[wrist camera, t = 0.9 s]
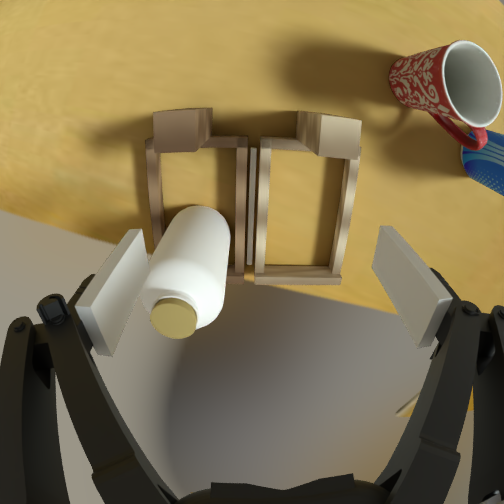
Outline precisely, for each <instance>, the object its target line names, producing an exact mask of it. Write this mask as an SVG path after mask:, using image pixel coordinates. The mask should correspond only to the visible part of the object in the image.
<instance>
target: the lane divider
mask: <svg viewBox="0 0 504 504" xmlns="http://www.w3.org/2000/svg"><path fill="white" fill-rule="evenodd" d="M256 152H257V148H251V153H250V182H249V212H248V243H247V265H252V251H253V227H254V202H255V177H256Z"/></svg>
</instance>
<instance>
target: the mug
mask: <svg viewBox="0 0 504 504" xmlns="http://www.w3.org/2000/svg"><path fill="white" fill-rule="evenodd" d="M389 82H390V86H391V89H392V92H393V93H394V95H395V96H396V98H397V99H398V100H399V101H400V102H401V103H402V104H404V105H405V106H407V107H410V108H413V109H418V110H423V111H427V112H428V113H429V114H430V115H431V116H432V117H433V118H434V119H435V120H436V121H437V122H438V123H439V124H440V125H441V126H442V127H443V128H444V129H445V130H446V131H447V132H448V133H449V134H450V135H451V136H452V137H453V138H454V139H455V140H456V141H457V142H459V143H460V144H461V145H463V146H464V147H466V148H468V149H470V150H474V151H477V150H480V149H481V148H483V147H484V146H485V145H486V143H487V139H488V137H487V132H486V130H485V127H486V126H488V125H489V124H491V123H492V122H493V121H494V120H495V119H496V117H497V115H498V114H499V111H500V109H501V104H502V85H501V80H500V76H499V73H498V71H497V68H496V66H495V64H494V63H493V61H492V59H491V58H490V57H489V55H488V54H487V53H486V52H485V51H484V50H483V49H482V48H481V47H480V46H478V45H477V44H475V43H473V42H470V41H466V40H458V41H455V42H453V43H451V44H450V45H446V46H442V47H438V48H435V49H431V50H428V51H424V52H420V53H417V54H414V55H411V56H408V57H404V58H402V59H399V60H397V61H396V62H395V63H394V64H393V65H392V67H391V70H390V73H389ZM448 117H449V118H452V119H456V120H459V121H462V122H464V123H465V124H467V125H468V126H469V127H470V129H471V130H472V131H473V133H474V135H475V137H476V140H477V141H476V140H474V139H472V138H471V137H469V136H468V135H467V134H465V133H464V132H463V131H462V130H461V129H460V128H459V127H458V126H457V125H455V124H454V123H453V122H452V121H451V120H450V119H449V118H448Z"/></svg>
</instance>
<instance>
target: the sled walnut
mask: <svg viewBox="0 0 504 504" xmlns="http://www.w3.org/2000/svg"><path fill="white" fill-rule="evenodd" d="M153 132H154V138H149V139H146V140H145V144H146V163H147V178H148V190H149V202H150V212H151V221H152V230H153V239H154V246H155V249H156V248H157V246H158V244H159V242H160V240H161V239H162V237H163V235H164V233H165V232H166V230H165V219H164V208H163V195H162V180H161V161H160V153H172V152H196V151H197V150H198V149H199V148H208V147H224V148H237V164H236V222H235V265H227V275H226V284H244V249H245V213H246V179H247V147H248V136H229V135H212V108H187V109H175V110H167V111H159V112H153Z"/></svg>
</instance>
